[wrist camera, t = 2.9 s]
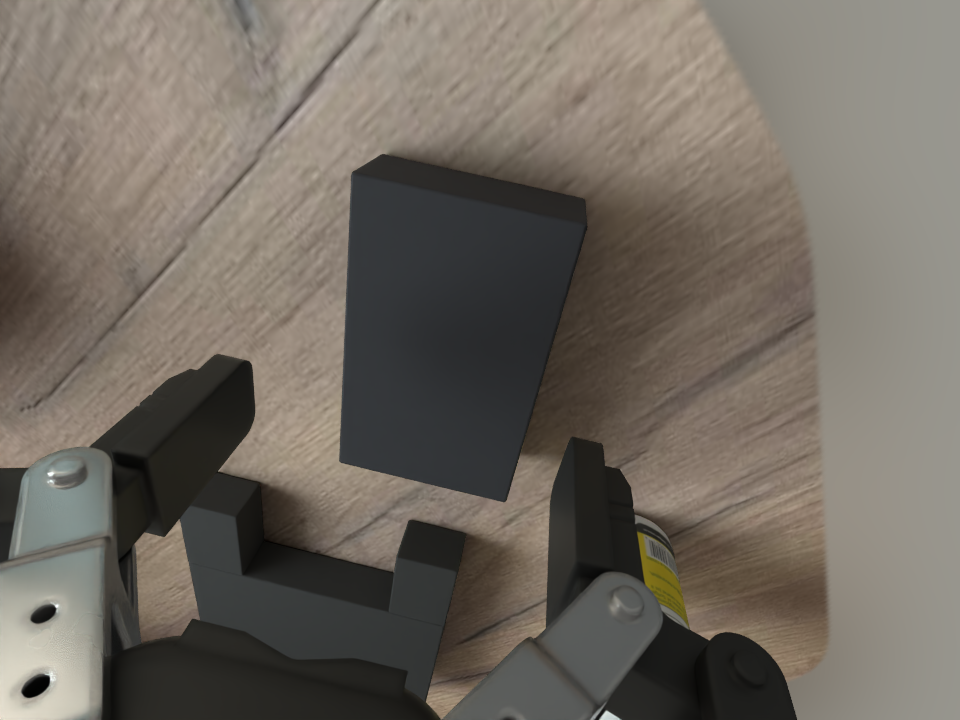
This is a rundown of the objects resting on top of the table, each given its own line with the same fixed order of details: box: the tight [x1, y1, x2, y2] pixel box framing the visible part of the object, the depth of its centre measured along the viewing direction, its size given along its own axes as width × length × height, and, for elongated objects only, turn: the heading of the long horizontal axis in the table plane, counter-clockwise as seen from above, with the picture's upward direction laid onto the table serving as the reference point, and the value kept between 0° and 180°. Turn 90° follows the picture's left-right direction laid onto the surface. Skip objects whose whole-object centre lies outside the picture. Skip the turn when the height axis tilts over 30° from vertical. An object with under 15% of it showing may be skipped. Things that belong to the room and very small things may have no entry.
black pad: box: [180, 473, 466, 702], centre depth 25 cm, size 12×12×2 cm
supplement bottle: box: [600, 515, 690, 720], centre depth 18 cm, size 5×5×8 cm
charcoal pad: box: [339, 154, 587, 502], centre depth 17 cm, size 6×10×2 cm, turn 169°
